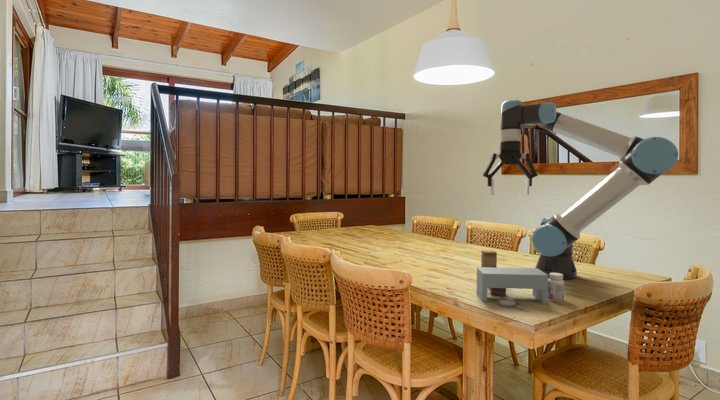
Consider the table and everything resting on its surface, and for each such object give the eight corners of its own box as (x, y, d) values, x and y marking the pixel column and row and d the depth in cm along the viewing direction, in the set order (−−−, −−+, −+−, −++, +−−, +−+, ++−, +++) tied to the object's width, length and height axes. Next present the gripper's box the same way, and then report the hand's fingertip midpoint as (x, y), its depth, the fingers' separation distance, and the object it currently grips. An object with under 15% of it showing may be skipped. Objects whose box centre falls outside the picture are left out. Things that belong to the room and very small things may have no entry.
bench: (537, 294, 130) (537, 268, 130) (547, 303, 121) (548, 275, 121) (476, 293, 132) (476, 267, 132) (482, 301, 123) (482, 273, 123)
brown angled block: (480, 281, 147) (481, 250, 147) (493, 281, 147) (494, 250, 146) (491, 294, 131) (491, 259, 130) (505, 294, 130) (506, 259, 130)
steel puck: (514, 303, 122) (514, 297, 121) (517, 309, 117) (517, 302, 117) (497, 302, 123) (497, 296, 122) (500, 308, 118) (500, 301, 118)
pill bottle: (544, 297, 127) (545, 272, 127) (558, 297, 128) (558, 272, 127) (552, 302, 123) (553, 276, 122) (567, 301, 123) (567, 275, 122)
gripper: (539, 141, 154) (538, 194, 155) (476, 142, 157) (475, 194, 158) (547, 139, 147) (545, 195, 148) (480, 140, 149) (479, 195, 150)
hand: (509, 194), depth 153 cm, fingers open, 13 cm apart
